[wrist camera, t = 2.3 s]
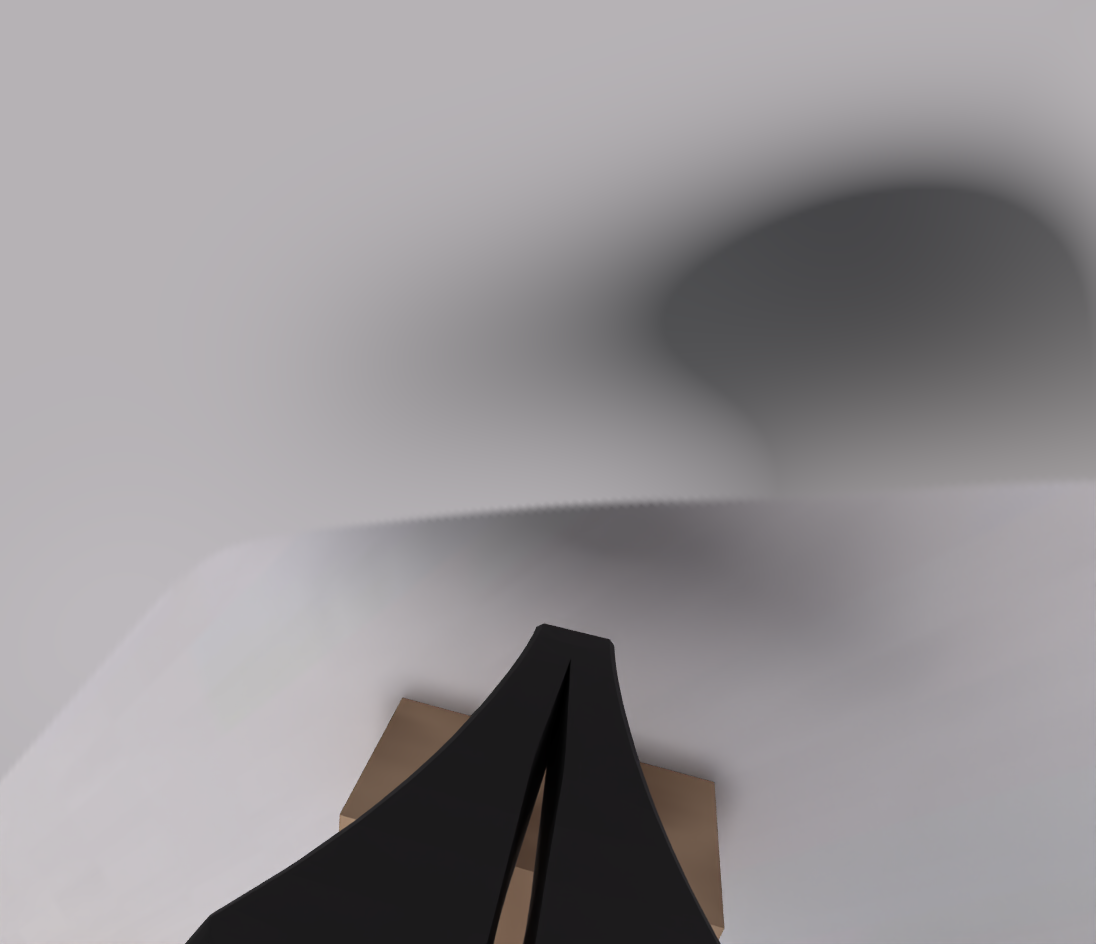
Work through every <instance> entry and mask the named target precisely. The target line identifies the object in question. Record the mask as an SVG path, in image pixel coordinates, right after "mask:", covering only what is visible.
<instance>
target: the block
mask: <svg viewBox="0 0 1096 944" xmlns="http://www.w3.org/2000/svg"><path fill="white" fill-rule="evenodd" d="M470 717H471V716H468V715H465V714H461V713H457V712H454V711H450V710H446V709H442V708H439V707H435V706H431V705H428V704H424V703H420V702H417V701H413V700H409V699H406V698H402V700H401V701H400V703H399V705H398V707H397V709H396V711H395V713H394V715H393V716H392V718H391V720H390V722H389V724H388V726H387V728H386V729H385V731H384V733H383V735H382V737H381V739H380V741H379V742H378V744H377V746H376V748H375V750H374V752H373V754H372V755H371V757H370V759H369V761H368V763H367V765H366V767H365V769H364V770H363V772H362V774H361V776H360V778H359V780H358V782H357V783H356V785H355V787H354V789H353V791H352V793H351V795H350V796H349V798H348V800H347V802H346V804H345V806H344V808H343V809H342V811H341V813H340V822H339V831H341V830H342V829H344V828H345V827H346V826H348V825H349V824H351V823H352V822H354V821H355V820H356V819H358V818H359V817H360V816H361V815H363V814H364V813H365V812H367V811H368V810H369V809H370V808H372V807H373V806H374V805H376V804H377V803H378V802H379V801H381V800H382V799H383V798H384V797H385V796H387V795H388V794H389V793H390V792H391V791H393V790H394V789H395V788H396V787H397V786H399V785H400V784H401V783H402V782H403V781H405V780H406V779H407V778H408V777H409V776H410V775H412V774H413V773H414V772H415V771H416V770H417V769H418V768H419V767H420V766H422V765H423V764H424V763H425V762H426V761H427V760H428V759H429V758H430V757H431V756H432V755H434V754H435V753H436V752H437V751H438V750H439V749H440V748H441V747H442V746H443V745H444V744H445V743H446V742H447V741H448V740H449V739H450V738H451V737H452V736H453V735H454V734H455V733H456V732H457V731H458V730H459V729H460V727H461V726H462V725H463V724H464V723H465V722H466V721H467V720H468V719H469V718H470ZM640 765H641V768H642V771H643V774H644V777H645V779H646V782H647V785H648V788H649V791H650V794H651V796H652V799H653V802H654V804H655V807H656V809H657V812H658V815H659V817H660V820H661V822H662V824H663V827H664V829H665V831H666V834H667V836H668V838H669V841H670V843H671V846H672V848H673V850H674V852H675V855H676V857H677V859H678V861H679V863H680V865H681V867H682V870H683V872H684V874H685V876H686V878H687V880H688V883H689V885H690V887H691V889H692V891H693V893H694V895H695V897H696V898H697V900H698V902H699V904H700V906H701V908H702V910H703V912H704V914H705V915H706V917H707V919H708V921H709V923H710V925H711V927H712V929H713V931H714V933H715V934H716V936H717V938H718V940H719V938H720V936H721V934H722V932H723V930H724V917H723V902H722V888H721V873H720V858H719V844H718V829H717V815H716V800H715V785H714V782H711V781H708V780H704V779H700V778H697V777H693V776H689V775H686V774H682V773H678V772H675V771H671V770H667V769H664V768H660V767H656V766H652V765H649V764H645V763H641V762H640ZM545 775H546V770H545V774H544V777H543V780H542V783H541V786H540V789H539V793H538V796H537V799H536V802H535V805H534V809H533V812H532V815H531V818H530V821H529V824H528V828H527V831H526V834H525V837H524V840H523V843H522V846H521V850H520V853H519V856H518V859H517V862H516V865H515V869H514V872H513V875H512V878H511V881H510V884H509V888H508V891H507V894H506V898H505V901H504V905H503V909H502V912H501V916H500V919H499V923H498V928H497V932H496V936H495V941H494V944H523V941H524V936H525V931H526V925H527V918H528V912H529V905H530V899H531V891H532V882H533V874H534V866H535V857H536V849H537V841H538V832H539V824H540V816H541V808H542V799H543V791H544V783H545Z"/></svg>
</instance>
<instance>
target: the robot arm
mask: <svg viewBox="0 0 1096 944" xmlns="http://www.w3.org/2000/svg"><path fill="white" fill-rule="evenodd" d="M545 770H546V775H545V783H544V791H543V799H542V808H541V816H540V824H539V832H538V841H537V849H536V857H535V866H534V874H533V882H532V891H531V899H530V905H529V912H528V918H527V925H526V931H525V936H524V941H523V944H720V942H719V940H718V938H717V936H716V934H715V933H714V931H713V929H712V927H711V925H710V923H709V921H708V919H707V917H706V915H705V914H704V912H703V910H702V908H701V906H700V904H699V902H698V900H697V898H696V897H695V895H694V893H693V891H692V889H691V887H690V885H689V883H688V880H687V878H686V876H685V874H684V872H683V870H682V867H681V865H680V863H679V861H678V859H677V857H676V855H675V852H674V850H673V848H672V846H671V843H670V841H669V838H668V836H667V834H666V831H665V829H664V827H663V824H662V822H661V820H660V817H659V815H658V812H657V809H656V807H655V804H654V802H653V799H652V796H651V794H650V791H649V788H648V785H647V782H646V779H645V777H644V774H643V771H642V768H641V765H640V762H639V759H638V756H637V752H636V749H635V746H634V742H633V739H632V735H631V732H630V728H629V724H628V721H627V717H626V714H625V709H624V705H623V701H622V696H621V692H620V687H619V682H618V676H617V670H616V662H615V651H614V645H613V643H612V642H611V641H610V639H605V638H601V637H597V636H593V635H589V634H585V633H581V632H577V631H573V630H569V629H565V628H560V627H556V626H552V625H548V624H542V625H540V626H538V627H536V629H535V631H534V634H533V636H532V637H531V639H530V641H529V642H528V644H527V646H526V647H525V649H524V650H523V652H522V653H521V655H520V656H519V658H518V659H517V661H516V662H515V663H514V665H513V666H512V668H511V669H510V670H509V672H508V673H507V674H506V675H505V677H504V678H503V679H502V680H501V682H500V683H499V684H498V685H497V687H496V688H495V689H494V690H493V692H492V693H491V694H490V695H489V697H488V698H487V699H486V700H485V701H484V702H483V704H482V705H481V706H480V707H479V708H478V709H477V710H476V711H475V712H474V713H473V714H472V716H471V717H470V718H469V719H468V720H467V721H466V722H465V723H464V724H463V725H462V726H461V727H460V729H459V730H458V731H457V732H456V733H455V734H454V735H453V736H452V737H451V738H450V739H449V740H448V741H447V742H446V743H445V744H444V745H443V746H442V747H441V748H440V749H439V750H438V751H437V752H436V753H435V754H434V755H432V756H431V757H430V758H429V759H428V760H427V761H426V762H425V763H424V764H423V765H422V766H420V767H419V768H418V769H417V770H416V771H415V772H414V773H413V774H412V775H410V776H409V777H408V778H407V779H406V780H405V781H403V782H402V783H401V784H400V785H399V786H397V787H396V788H395V789H394V790H393V791H391V792H390V793H389V794H388V795H387V796H385V797H384V798H383V799H382V800H381V801H379V802H378V803H377V804H376V805H374V806H373V807H372V808H370V809H369V810H368V811H367V812H365V813H364V814H363V815H361V816H360V817H359V818H358V819H356V820H355V821H354V822H352V823H351V824H349V825H348V826H346V827H345V828H344V829H342V830H341V831H339V832H338V833H337V834H335V835H334V836H332V837H331V838H329V839H328V840H327V841H325V842H324V843H322V844H321V845H320V846H318V847H317V848H315V849H314V850H313V851H311V852H310V853H308V854H307V855H305V856H304V857H303V858H301V859H300V860H298V861H297V862H295V863H294V864H292V865H290V866H289V867H287V868H286V869H284V870H283V871H281V872H279V873H278V874H276V875H275V876H273V877H271V878H270V879H268V880H266V881H265V882H263V883H261V884H260V885H258V886H257V887H255V888H253V889H252V890H250V891H248V892H247V893H245V894H243V895H242V896H240V897H239V898H237V899H235V900H234V901H232V902H230V903H229V904H227V905H226V906H224V907H222V908H220V909H219V910H217V911H216V912H214V913H212V914H211V915H210V916H209V917H208V918H207V919H206V920H205V921H204V922H203V924H202V925H201V926H200V927H199V928H198V929H197V930H196V932H195V933H194V934H193V935H192V936H191V937H190V939H189V940H188V941H187V942H186V943H185V944H494V941H495V936H496V932H497V928H498V923H499V919H500V916H501V912H502V909H503V905H504V901H505V898H506V894H507V891H508V888H509V884H510V881H511V878H512V875H513V872H514V869H515V865H516V862H517V859H518V856H519V853H520V850H521V846H522V843H523V840H524V837H525V834H526V831H527V828H528V824H529V821H530V818H531V815H532V812H533V809H534V805H535V802H536V799H537V796H538V793H539V789H540V786H541V783H542V780H543V777H544V774H545Z"/></svg>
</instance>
